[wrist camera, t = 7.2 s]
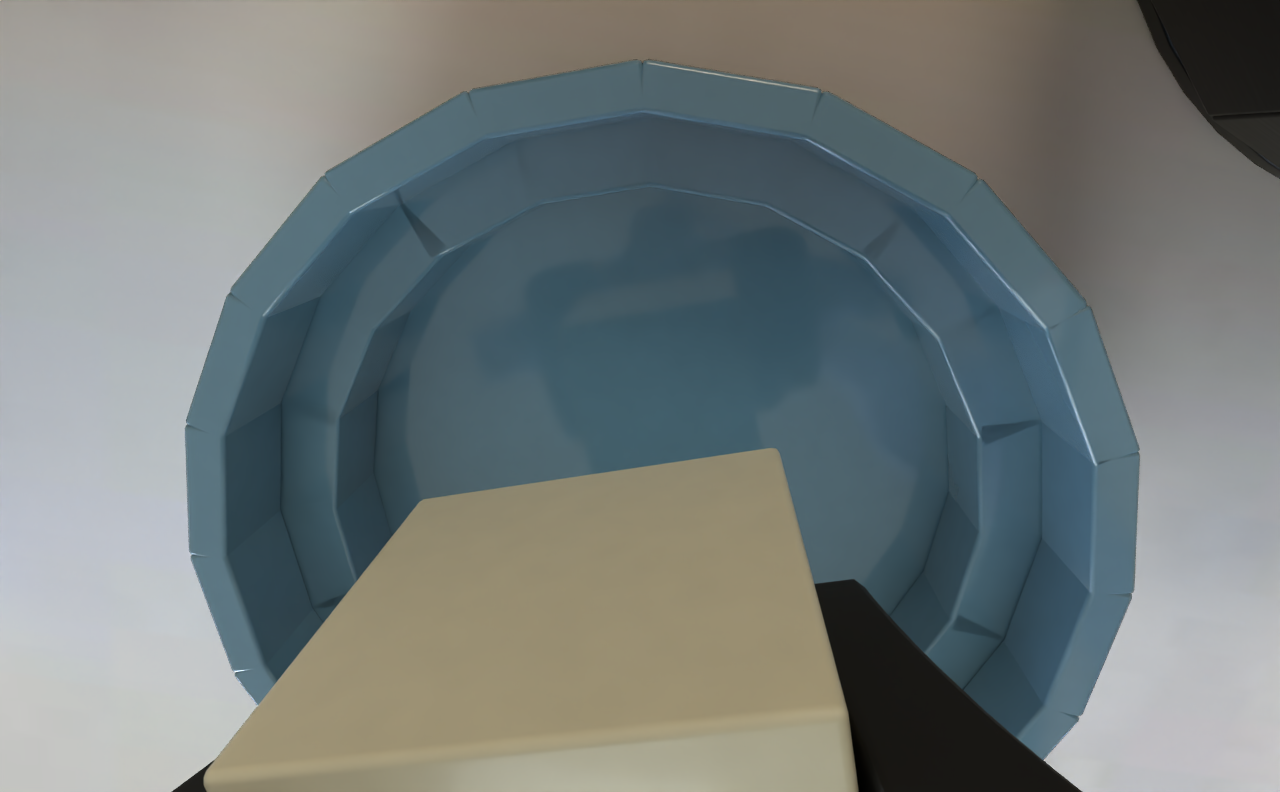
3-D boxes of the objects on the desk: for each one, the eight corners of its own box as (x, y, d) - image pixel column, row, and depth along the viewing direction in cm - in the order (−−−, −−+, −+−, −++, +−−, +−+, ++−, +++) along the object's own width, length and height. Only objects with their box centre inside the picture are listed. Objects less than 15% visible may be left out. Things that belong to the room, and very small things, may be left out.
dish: (1137, 164, 12) (1317, 170, 9) (910, 804, 17) (968, 986, 13) (318, 26, 13) (166, -22, 9) (303, 692, 17) (196, 839, 13)
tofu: (777, 444, 9) (849, 710, 5) (822, 749, 10) (909, 1175, 6) (418, 497, 9) (193, 779, 5) (505, 779, 11) (379, 1188, 6)
